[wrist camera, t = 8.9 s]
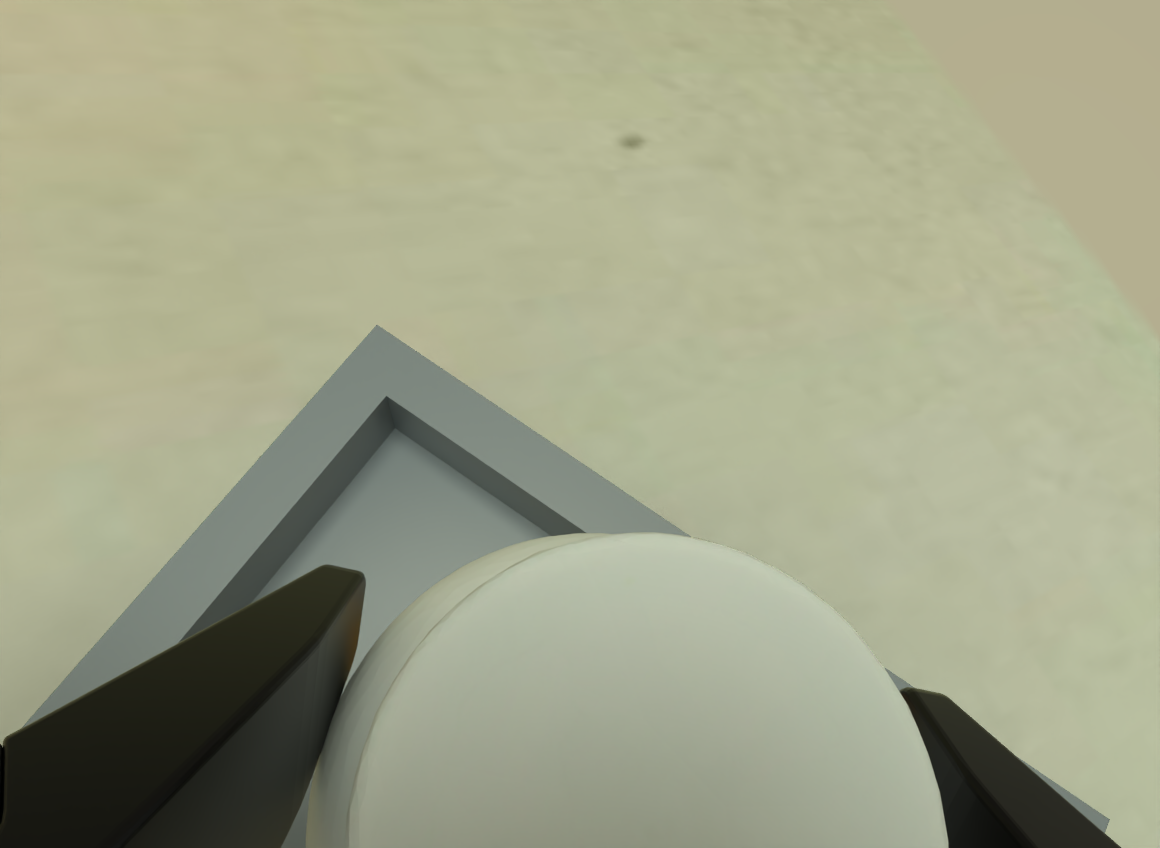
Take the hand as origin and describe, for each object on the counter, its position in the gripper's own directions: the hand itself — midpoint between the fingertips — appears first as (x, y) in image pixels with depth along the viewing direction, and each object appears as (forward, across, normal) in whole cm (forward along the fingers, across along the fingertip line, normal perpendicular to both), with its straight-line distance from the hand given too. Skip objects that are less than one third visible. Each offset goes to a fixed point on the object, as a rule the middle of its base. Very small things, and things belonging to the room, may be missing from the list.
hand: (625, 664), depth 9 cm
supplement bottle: (+4, 0, +6) cm, 7 cm away
